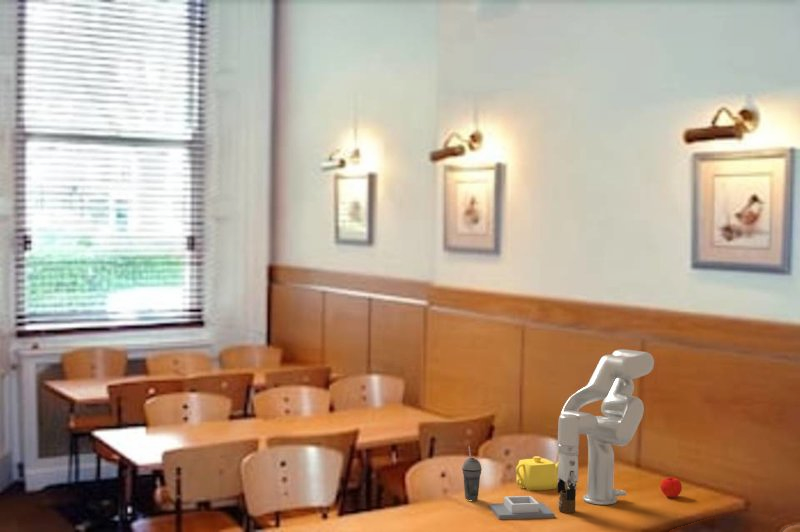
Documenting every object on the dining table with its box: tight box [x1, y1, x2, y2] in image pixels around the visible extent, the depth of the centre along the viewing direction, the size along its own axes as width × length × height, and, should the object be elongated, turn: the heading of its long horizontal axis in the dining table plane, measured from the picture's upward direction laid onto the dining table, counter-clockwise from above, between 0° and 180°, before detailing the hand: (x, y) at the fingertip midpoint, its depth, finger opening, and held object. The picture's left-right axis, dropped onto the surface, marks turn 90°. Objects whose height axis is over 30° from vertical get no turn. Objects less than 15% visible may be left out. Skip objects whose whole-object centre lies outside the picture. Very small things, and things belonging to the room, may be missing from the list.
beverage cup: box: [461, 445, 482, 502], centre depth 361 cm, size 7×7×20 cm
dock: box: [488, 495, 555, 520], centre depth 346 cm, size 20×14×4 cm
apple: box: [659, 477, 683, 499], centre depth 370 cm, size 8×8×7 cm
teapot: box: [515, 455, 558, 491], centre depth 382 cm, size 20×12×12 cm, turn 110°
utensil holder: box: [558, 482, 576, 514], centre depth 348 cm, size 6×6×12 cm
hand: (566, 496), depth 348 cm, fingers open, 9 cm apart
